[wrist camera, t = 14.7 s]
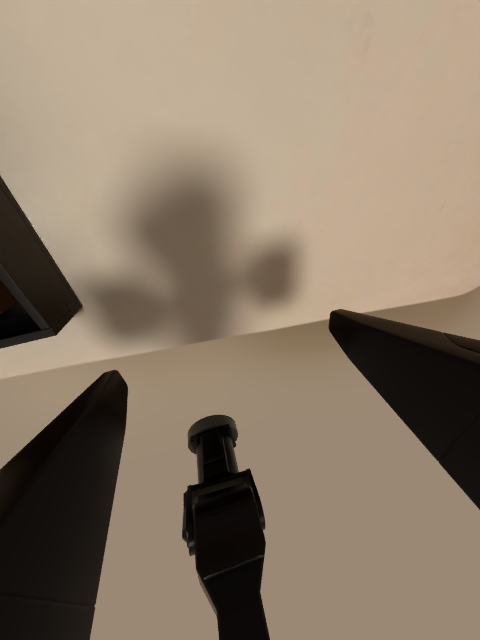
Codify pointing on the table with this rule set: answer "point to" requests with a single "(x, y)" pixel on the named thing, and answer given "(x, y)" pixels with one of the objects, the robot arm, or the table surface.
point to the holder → (30, 280)
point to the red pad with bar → (6, 298)
